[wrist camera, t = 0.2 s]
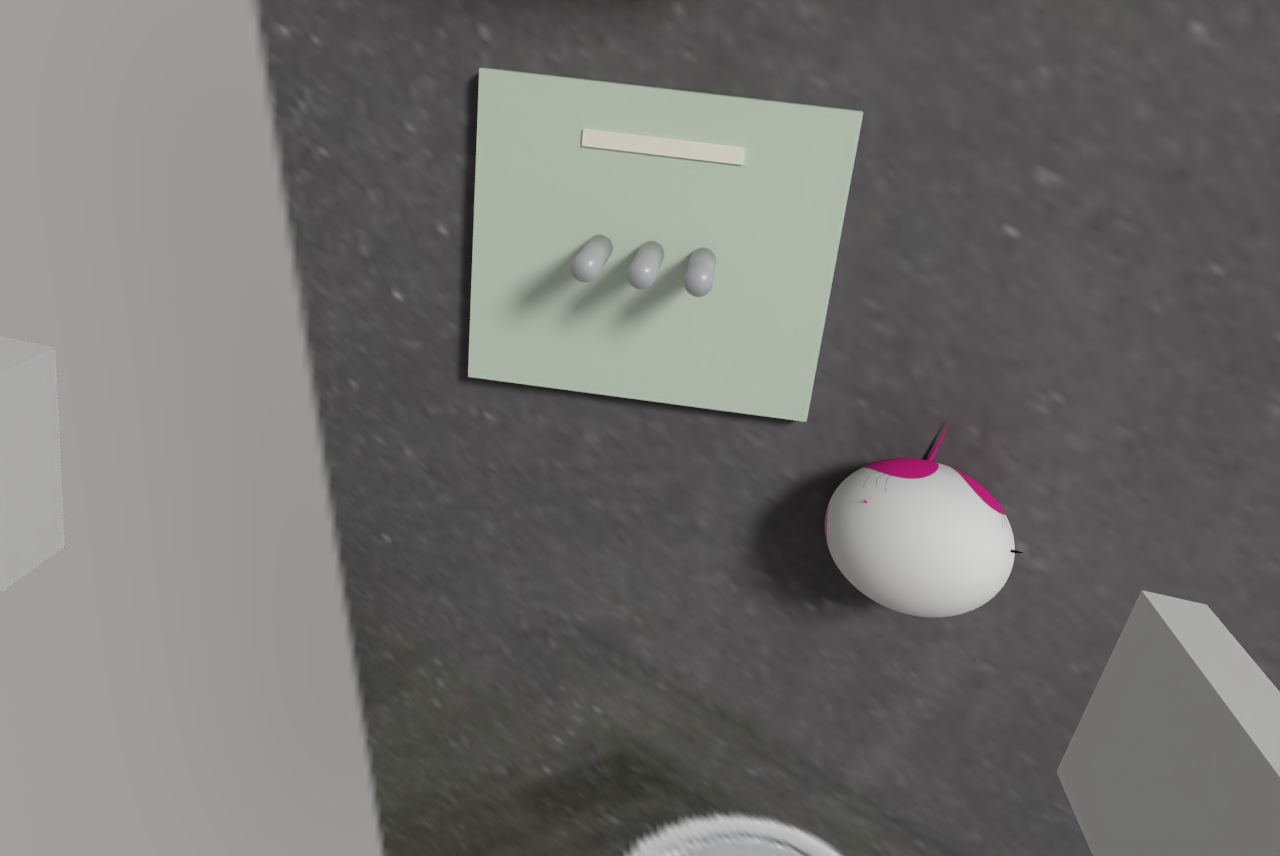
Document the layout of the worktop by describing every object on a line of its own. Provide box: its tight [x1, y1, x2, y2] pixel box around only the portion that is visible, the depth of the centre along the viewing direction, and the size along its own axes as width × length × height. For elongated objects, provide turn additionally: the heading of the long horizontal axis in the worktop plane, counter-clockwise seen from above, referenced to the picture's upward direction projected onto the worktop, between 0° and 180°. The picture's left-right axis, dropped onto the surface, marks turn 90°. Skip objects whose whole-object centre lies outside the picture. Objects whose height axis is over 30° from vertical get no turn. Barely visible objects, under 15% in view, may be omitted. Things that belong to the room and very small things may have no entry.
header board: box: [468, 68, 863, 422], centre depth 35 cm, size 12×14×5 cm
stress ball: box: [825, 423, 1022, 617], centre depth 38 cm, size 8×8×7 cm
